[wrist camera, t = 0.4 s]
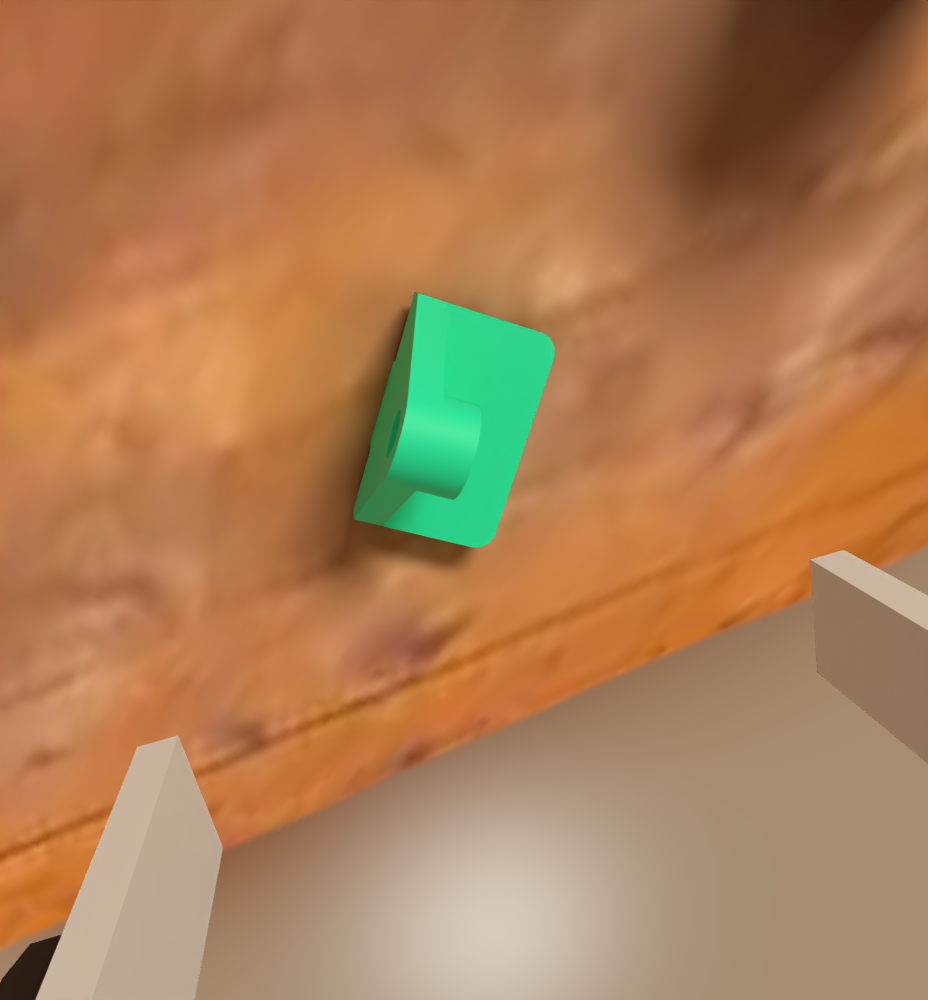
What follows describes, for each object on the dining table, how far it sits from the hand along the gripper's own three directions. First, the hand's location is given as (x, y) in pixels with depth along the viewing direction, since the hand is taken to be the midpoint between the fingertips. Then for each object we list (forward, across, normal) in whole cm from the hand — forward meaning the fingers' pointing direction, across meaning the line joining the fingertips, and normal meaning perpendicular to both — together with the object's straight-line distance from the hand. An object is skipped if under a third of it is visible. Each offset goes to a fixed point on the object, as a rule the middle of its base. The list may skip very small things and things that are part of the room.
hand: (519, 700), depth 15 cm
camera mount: (+28, +3, 0) cm, 28 cm away
